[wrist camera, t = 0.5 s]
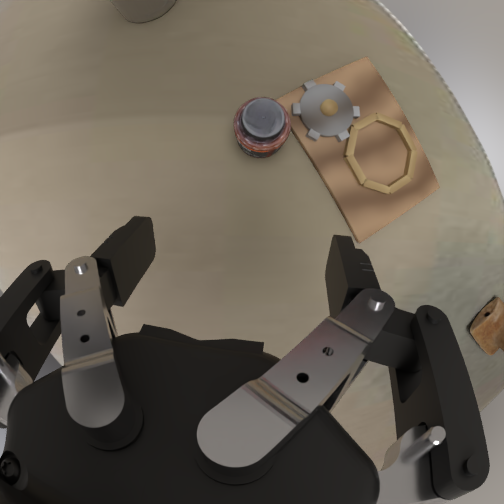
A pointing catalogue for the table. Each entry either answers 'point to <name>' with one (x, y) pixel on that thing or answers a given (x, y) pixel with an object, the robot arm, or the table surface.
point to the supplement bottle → (261, 126)
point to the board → (360, 146)
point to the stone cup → (490, 327)
